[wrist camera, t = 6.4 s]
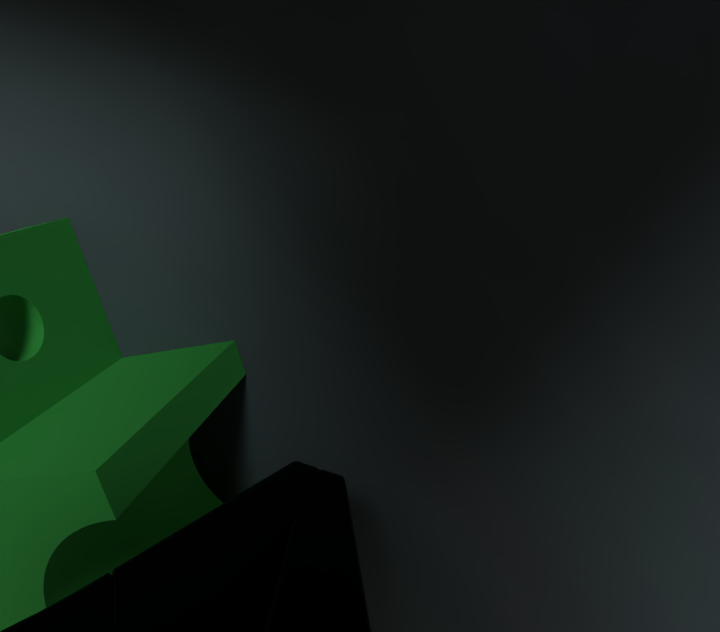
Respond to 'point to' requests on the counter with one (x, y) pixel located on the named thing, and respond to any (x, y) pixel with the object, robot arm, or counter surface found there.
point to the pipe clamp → (88, 427)
